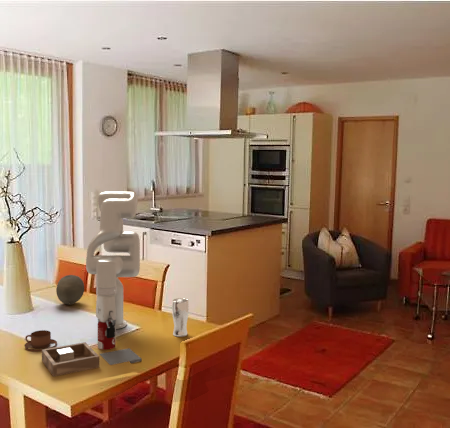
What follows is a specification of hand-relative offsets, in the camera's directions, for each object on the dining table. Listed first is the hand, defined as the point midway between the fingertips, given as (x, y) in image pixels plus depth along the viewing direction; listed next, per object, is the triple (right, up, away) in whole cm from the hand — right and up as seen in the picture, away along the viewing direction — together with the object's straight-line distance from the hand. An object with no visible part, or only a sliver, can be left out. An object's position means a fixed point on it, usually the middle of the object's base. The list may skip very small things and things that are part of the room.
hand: (106, 334), depth 201 cm
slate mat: (+7, -7, -8) cm, 13 cm away
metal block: (-12, -7, -14) cm, 20 cm away
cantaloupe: (-32, +1, +60) cm, 68 cm away
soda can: (0, -6, +1) cm, 6 cm away
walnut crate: (-9, -8, -16) cm, 20 cm away
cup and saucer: (-26, -6, +1) cm, 26 cm away
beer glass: (+27, -5, +20) cm, 34 cm away
